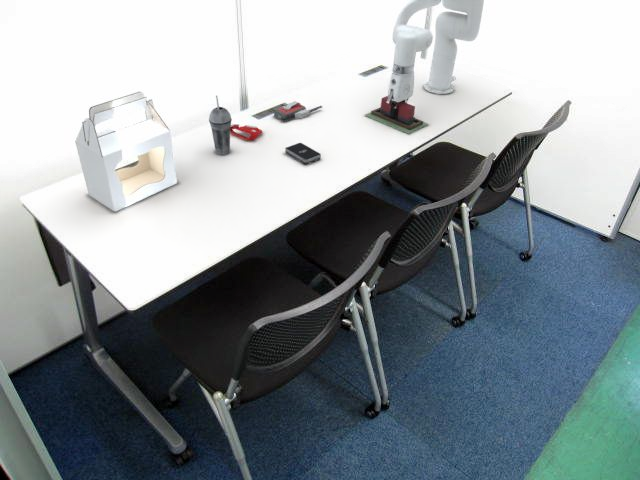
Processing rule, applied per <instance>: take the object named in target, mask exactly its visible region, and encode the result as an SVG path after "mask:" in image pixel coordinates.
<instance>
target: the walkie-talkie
mask: <svg viewBox="0 0 640 480" xmlns="http://www.w3.org/2000/svg"><path fill="white" fill-rule="evenodd" d="M322 108H323V106H322V105H319V106H317V107H314V108H310V109H307V108H306V106H305V105H302V104H301V103H300V102H298V101H297V100H296V101H292V102H289V103H288V104H287V105H284V106H281V107H279V108H276V109H274V110H273V118H275V119H277V120H279V121H281V122H288V121H291V120H293V119H303V118H306V117H309V116H310V114H311V113H313V112H315V111H318V110H320V109H322Z"/></svg>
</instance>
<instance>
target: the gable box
mask: <svg viewBox="0 0 640 480" xmlns="http://www.w3.org/2000/svg"><path fill="white" fill-rule="evenodd" d="M147 98H148V97H147V96H145V93H143V92H142V91H137V92H134V93H130V94H127V95H124V96H122V97H117V98H115V99H111V100H108V101H105V102H102V103H99V104H95V105H93V106H92V105H91V106H90V107H89V109H88V117H89V118H85V119H84V120H83V121H82V122H81V123H82V125H81V127H80V129H79V131H78V133H77V136H76V138H75V141H74V142H75V146H76V151H77V155H78V158H79V162H80V166H81V167H80V168H81V170H82V174H83V179H84V182H85V185H86V190H87V194H88V196H89V197H91V198H92V199H94V200H96V201H97V202H99V203H100V204H102V205H104V207H106V208H108V209H109V210H111V211H112V212H114V213H115V212H116V213H117V212H118V211H120V210H123V209H125V208H127V207H129V206H131V205H133V204H135V203H138V202H140V201H142V200H144V199H147V198H148V197H151V196H153V195H155V194H157V193H159V192H162V191H164V190H166V189H168V188H170V187H172V186H175V185H177V184H178V180H177V179H178V178H177V172H176V164H175V157H174V150H173V149H174V148H173V144H172V143H173V141H172V136H171V130H170V129H169V127H168V126H167V124H166V123H165V121H164V120H163V119H162V117H161V116H160V114H159V113H158V111H157V110H156V109H155V106H154V101H153V99H148V100H147ZM138 110H141V117H137V118H135V119H133V120H129V121H126V122H124V123H120V124H118V125H115V126H113V127H110V128H107V129H103V130H101V131H98V132H97V131H96V125H97V124H100V123H102V122H106V121H109V120H111V119H114V118H117V117H121V116H123V115H126V114H130V113H133V112H135V111H138ZM132 157H133V158H134V157H137V159H138V162H137V163H136V164H135V165H133V166H126V167H125V166H124V167H121V168H118V169H116V168H117V166H118V165H119V164H120V163H121V162H123V161H125V160H127V159H129V158H132Z"/></svg>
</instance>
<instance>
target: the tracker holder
mask: <svg viewBox="0 0 640 480" xmlns="http://www.w3.org/2000/svg"><path fill="white" fill-rule="evenodd" d="M235 130H237V131H240V132H243V133H246V134H248V135H249V136H248V137H247V136H245V135H242V134H240V133H238V132H236V131H235ZM230 134H232V136H233V135H234V136H235V137H237V138H240V139H243V140H245V141H255V140H256V139H257V138H258V137H259V136H260V135H262V134H263V130H262V129H260V128H259V127H257V126H254V125H250V124H249V125H247V124H246V125H244V126H242V125H241V126H240V124H239V123H233V124H231V126H230Z"/></svg>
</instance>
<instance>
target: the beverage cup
mask: <svg viewBox="0 0 640 480" xmlns="http://www.w3.org/2000/svg"><path fill="white" fill-rule="evenodd" d="M215 100H216V106H215V108H213V109H212V110H211V111H210V113H209V117H208V122H209V125H210V126H209V127H210V129H211V134H212V139H213V144H214V150H215V153H216V155H219V156H225V155H228V154H229V153H230V150H231V133H230V126H231V125H232V121H233V120H232V117H231V113H230V112H229V110H228V109H227V108H225V107H223V106H220V104H219V97H218V95H215Z"/></svg>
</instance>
